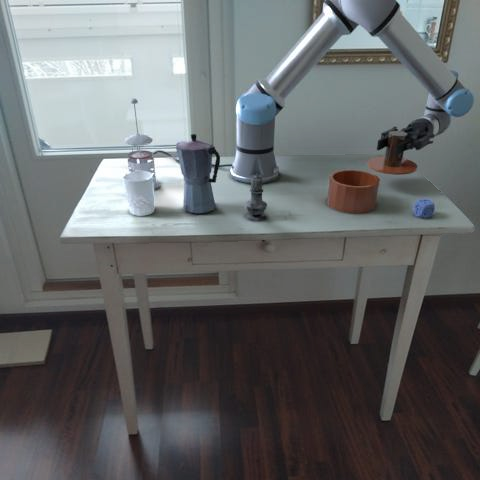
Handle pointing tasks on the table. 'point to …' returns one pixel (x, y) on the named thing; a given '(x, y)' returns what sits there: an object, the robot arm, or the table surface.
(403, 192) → the table surface
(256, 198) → the salt shaker
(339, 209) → the pot
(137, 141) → the french press
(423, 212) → the decorative dice
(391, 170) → the lid
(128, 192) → the white cup
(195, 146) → the moka pot
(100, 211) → the table surface
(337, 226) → the table surface
